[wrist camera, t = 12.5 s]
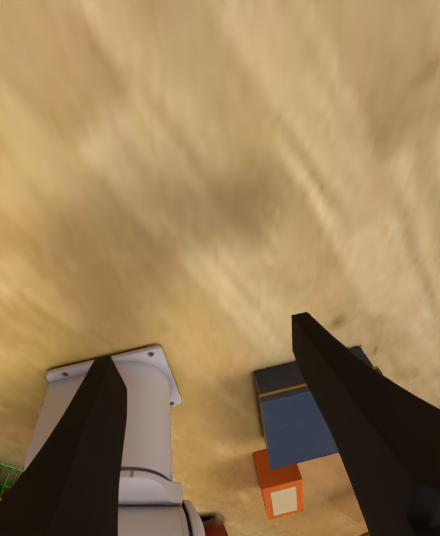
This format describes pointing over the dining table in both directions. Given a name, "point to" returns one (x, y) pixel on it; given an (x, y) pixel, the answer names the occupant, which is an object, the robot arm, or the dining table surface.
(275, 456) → the biscuit tin
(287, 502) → the snack box
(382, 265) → the dining table surface
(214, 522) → the fruit
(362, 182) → the dining table surface
